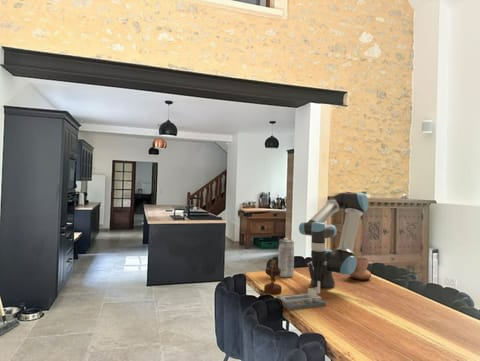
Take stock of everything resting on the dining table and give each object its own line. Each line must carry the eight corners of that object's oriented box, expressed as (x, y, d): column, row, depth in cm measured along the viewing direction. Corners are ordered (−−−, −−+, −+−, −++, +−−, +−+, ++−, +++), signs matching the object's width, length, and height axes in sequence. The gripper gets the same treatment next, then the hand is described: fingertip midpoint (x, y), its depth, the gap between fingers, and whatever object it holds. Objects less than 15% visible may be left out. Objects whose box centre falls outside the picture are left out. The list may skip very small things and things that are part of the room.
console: (310, 296, 183) (310, 290, 183) (326, 306, 167) (326, 299, 168) (276, 299, 176) (276, 293, 176) (289, 310, 161) (289, 303, 161)
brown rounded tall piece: (283, 295, 183) (281, 261, 183) (264, 297, 183) (262, 262, 184) (280, 287, 198) (278, 255, 199) (263, 288, 198) (261, 256, 199)
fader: (312, 296, 176) (312, 287, 176) (316, 298, 173) (316, 289, 173) (307, 296, 175) (307, 288, 175) (311, 298, 172) (311, 290, 172)
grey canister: (294, 277, 221) (294, 239, 221) (279, 277, 221) (279, 239, 222) (292, 274, 230) (292, 237, 230) (277, 274, 230) (278, 237, 230)
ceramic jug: (364, 275, 231) (364, 255, 231) (377, 280, 217) (376, 259, 217) (342, 276, 227) (342, 257, 227) (354, 282, 212) (353, 261, 213)
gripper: (324, 248, 181) (324, 289, 181) (304, 249, 177) (303, 291, 176) (332, 250, 174) (331, 293, 173) (311, 251, 170) (310, 295, 169)
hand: (317, 292), depth 175 cm, fingers closed
